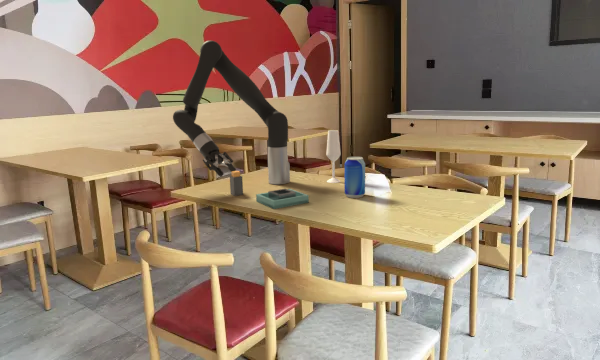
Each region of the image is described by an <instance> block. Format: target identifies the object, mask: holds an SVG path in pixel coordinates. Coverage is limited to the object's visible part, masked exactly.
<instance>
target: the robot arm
mask: <svg viewBox="0 0 600 360" xmlns="http://www.w3.org/2000/svg"><path fill="white" fill-rule="evenodd" d="M199 50H200V51H199V53H200V55H199V59H198V63H197V66H196V69H195V72H194V74H193V75H192V77H191V80H190V82H189V84H188V86H187V88H186V90H185V93H184V96H183V98H182V103H183V104H184V109H177V110H175V111H174V112H173V115H172V120H173V122H174V124H175V126H176V127H177V128H178V129H179V130H181V132H183V133H184V134H185V135H187V137H188V138H189V139H190V141H191V142H192V143H193V145H194V147H195V148H196V149H197V150H198V151H199V153H200V154H201V155H202V157H203V159H202V161H203V163H204V165H205V166H206V168H207V169H208V170H209V171H214V172H215V173H216V174H217V176H218V177H223V176H224V174H225V173H224V171H223V170H222V169H221V168H220V167H219V165H222V166H225V167H227V168H228V170H229V172H231V171H237V170H236V168H235V166H234V165H233V162H234V160H233V159H232V157H230V155H228V153H227V152H226V151H224V152H223V153H221V152H220V148H219V146H218V145H217V144H216V142H215V141H214V140H213V139H212V137H211V136H210V135H208V134H207V133H206V131H205V130H204V129H203V128H202V127H201V125H199V124H197V123H196V120H197V115H198V109H199V104H200V102H201V99H202V97H203V95H204V92H205V89H206V86H207V83H208V80H209V78H210V76H211V73H212V71H213V70H214V69H215V70H216V71H217V72H218V73H219V74H220V75H221V77H222V79H224V81H225V83H226V84H227V85H228V86H229V87H230V88H231V90H232V91H233V92H234V93H235V94H236V95H237V96H238V97H239V98H240V99H241V100H242V101H243V102H244V103H245V104H246V105H247V106H248V107H250V109H252V110H253V111H254V112H255V113H256V114H257V115H258V116H259V118H260V119H261V120H262V121H263V123H264V124H265V126H266V127H267V133H268V134H267V173H268V184H271V185H284V184H288V183H290V182H291V176H290V175H291V173H290V171H291V170H290V169H291V168H290V162H289V160H288V159H289V158H288V157H289V156H288V141H289V123H288V122H289V121H288V118H287V115H286V114H284V113H282V112H281V111H278V110H277V109H276V108H275V107H274V106H273V105H272V104H270V102H269V101H268V100H267V99H266V98H265V96H264V95H263V93H262V91H261V90H260V88H259V87H258V86H257V84H256V83H255V82H254V81H253V80H252V79H251V78H250V77H249V76H248V75H247V74H246V73H245V72H244V71H243V70H242V69H241V68H240V67H238V66H237V65H236V64H234V63H233V62H232V60H230V59H229V57H228V56H227V55H226V53H225V52H224V51H223V49H222V47H221V45H220V43H218V42H217V41H215V40H206V41H205V42H203V43H202V45H201V46H200V48H199Z"/></svg>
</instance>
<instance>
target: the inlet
mask: <svg viewBox="0 0 600 360" xmlns="http://www.w3.org/2000/svg"><path fill="white" fill-rule="evenodd" d="M288 189H289V188H281V189H274V190H269V191H268V195H269V198H270V199H272V200H280V199H286V198H291V197H296V192H294V191H291V190H288Z"/></svg>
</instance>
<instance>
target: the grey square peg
mask: <svg viewBox="0 0 600 360" xmlns="http://www.w3.org/2000/svg"><path fill="white" fill-rule="evenodd" d="M230 174H231V175H229V185H230V186H229V190H230V196H231V195H232V196H234V197H236V196H237V197H238V196H243V195H244V187H243V186H244V184H243V183H244V182H243V175H241V171H239V170H236V171H230Z"/></svg>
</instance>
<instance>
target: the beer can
mask: <svg viewBox="0 0 600 360" xmlns="http://www.w3.org/2000/svg"><path fill="white" fill-rule="evenodd" d="M344 194H345V196H346V197H347V198H349V199H359V198H363V197H364V195H365V194H366V163H365V161H364V158H363V157H362V156H348V157H346V160H345V162H344Z"/></svg>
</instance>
